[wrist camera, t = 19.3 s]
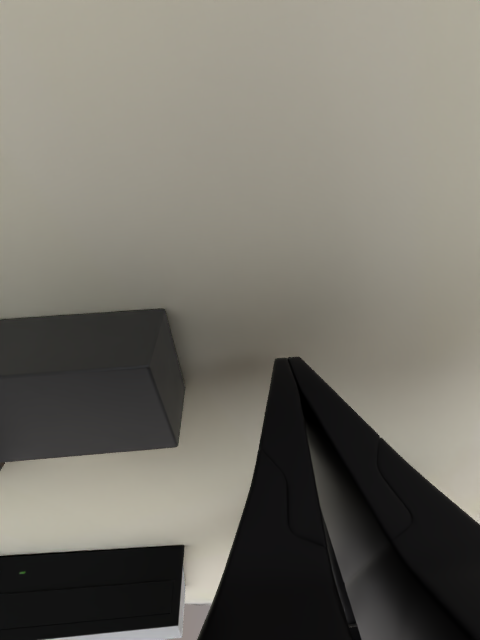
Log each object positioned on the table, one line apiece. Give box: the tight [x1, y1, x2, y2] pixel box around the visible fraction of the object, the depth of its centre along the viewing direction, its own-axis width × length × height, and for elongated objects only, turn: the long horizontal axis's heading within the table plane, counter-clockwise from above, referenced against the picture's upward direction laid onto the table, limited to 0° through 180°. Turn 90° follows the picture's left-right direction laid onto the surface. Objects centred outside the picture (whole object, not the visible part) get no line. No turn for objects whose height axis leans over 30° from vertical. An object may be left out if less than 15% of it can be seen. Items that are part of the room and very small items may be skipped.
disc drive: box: [0, 546, 185, 640], centre depth 28 cm, size 18×22×5 cm
